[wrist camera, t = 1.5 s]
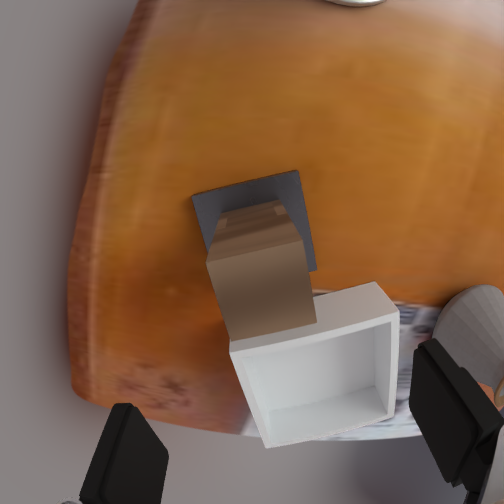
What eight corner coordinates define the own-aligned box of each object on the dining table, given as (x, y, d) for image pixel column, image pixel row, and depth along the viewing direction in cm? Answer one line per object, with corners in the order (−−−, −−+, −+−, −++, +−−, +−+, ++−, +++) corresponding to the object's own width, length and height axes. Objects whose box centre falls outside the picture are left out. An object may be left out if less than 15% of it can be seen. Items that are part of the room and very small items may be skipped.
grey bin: (231, 315, 31) (229, 352, 25) (375, 281, 30) (399, 310, 24) (263, 411, 36) (265, 448, 30) (377, 383, 35) (393, 416, 29)
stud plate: (193, 194, 27) (181, 207, 22) (296, 169, 26) (308, 177, 21) (220, 287, 30) (216, 317, 25) (314, 265, 29) (328, 292, 24)
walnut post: (220, 213, 26) (205, 262, 16) (279, 199, 26) (302, 240, 16) (235, 267, 28) (231, 341, 18) (291, 254, 28) (317, 322, 18)
